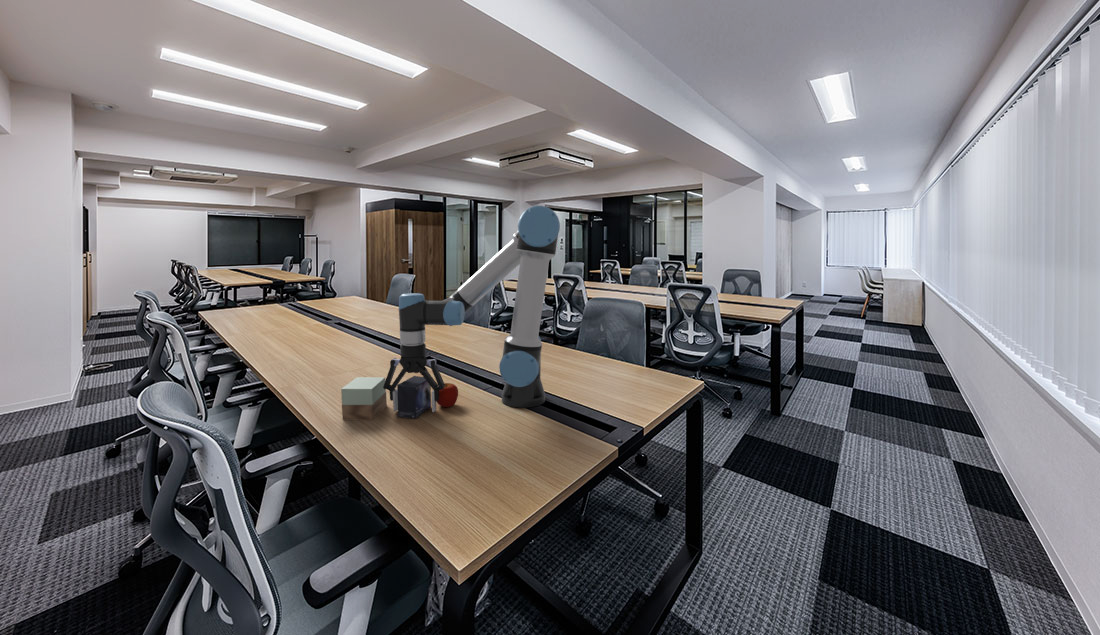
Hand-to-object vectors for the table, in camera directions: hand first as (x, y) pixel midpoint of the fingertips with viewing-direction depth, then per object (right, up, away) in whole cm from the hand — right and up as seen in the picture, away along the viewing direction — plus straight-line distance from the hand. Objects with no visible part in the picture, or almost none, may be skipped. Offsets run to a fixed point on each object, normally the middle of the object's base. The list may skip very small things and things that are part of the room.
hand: (415, 410), depth 136 cm
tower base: (-16, -1, 0) cm, 16 cm away
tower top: (-15, +4, -1) cm, 16 cm away
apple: (+8, 0, +6) cm, 11 cm away
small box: (0, -1, 0) cm, 1 cm away
